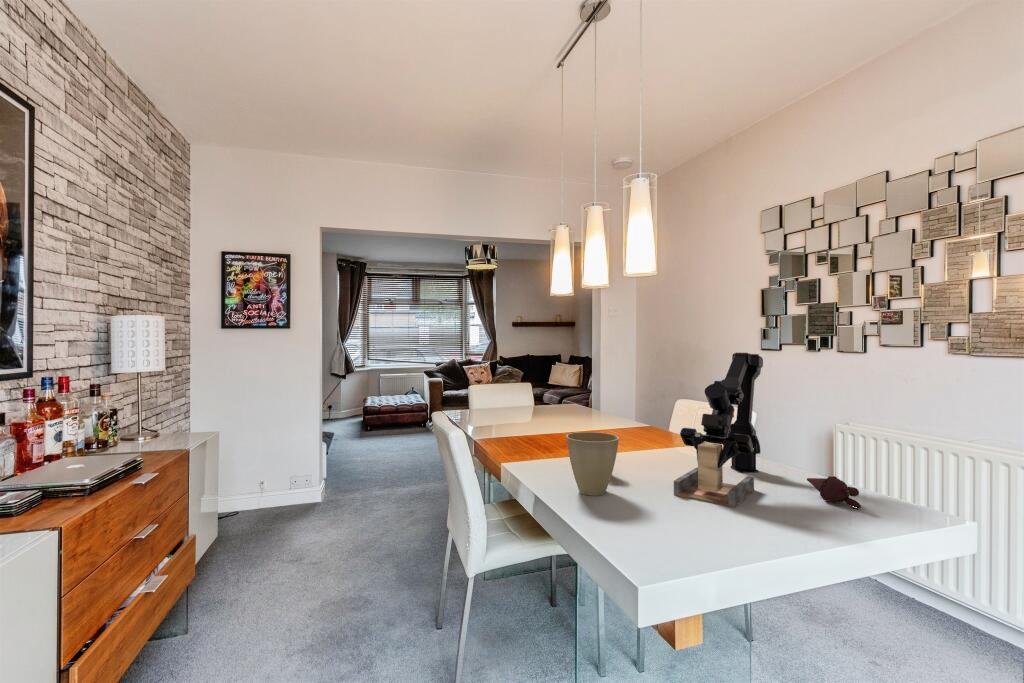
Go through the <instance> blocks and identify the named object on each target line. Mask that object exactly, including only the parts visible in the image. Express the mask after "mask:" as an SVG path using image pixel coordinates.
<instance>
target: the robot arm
mask: <svg viewBox="0 0 1024 683" xmlns="http://www.w3.org/2000/svg"><path fill="white" fill-rule="evenodd" d="M731 357H732V358H731V359H732V360H731V363H730V365H729V368H728V370H727V373H726V375H725V377H724V379H722V380H714V382H713V383H712V384H709V385H708V386H706V388H704V395H705V397H706V400H707V403H708V405H709V407H710V409H712V411H711V412H712V413H711V414H710V413H703V414H702V416H701V424H700V425H701V426H703V429H702V430H703V432H704V433H705V434H704V433H701V432H698V431H697V429H696V428H691V427H682V428H681V430H680V432H679V435H680V437H681V440H682V443H683V444H684V445H685V446H688V447H694V449H695V452H696V459H697V460H696V461H697V462H698V445H700V444H702V443H704V442H705V443H713V444H720V445H722V452H721V455H720V458H719V461H718V468H720V467H721V466H722V467H723V466H724V465H725V463H727V462H728V461H729V460H730V459H731V465H730V468H731V469H733V470H735V471H737V472H738V471H739V473H759V472H760V470H758V469H757V455H759V454H761V445H760V444H761V443H760V440H759V439H758V436H757V430H756V429H755V426H754V425H753V422H752V421H753V406H754V405H753V404H754V393H755V381H756V379H758V377H759V376H760V374H761V372H762V369H763V367H764V358H763V357H762V356H761V355H760V354H759V353H749V352H735V353H732V356H731ZM733 405H734V406H737V409H736V420H735V421H734V422H733V418H734V417H735V407H734V406H733ZM732 422H733V423H732Z"/></svg>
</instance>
